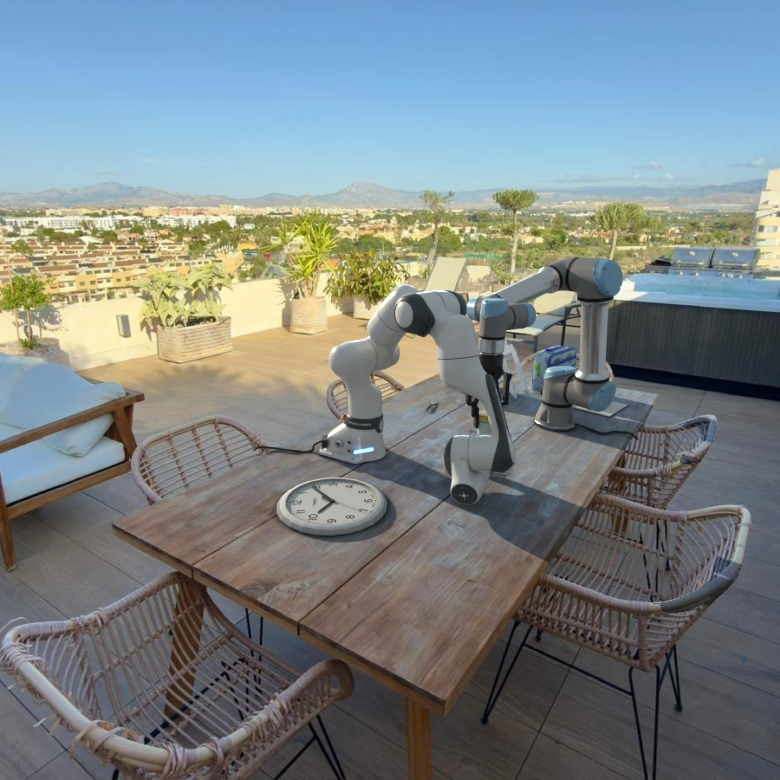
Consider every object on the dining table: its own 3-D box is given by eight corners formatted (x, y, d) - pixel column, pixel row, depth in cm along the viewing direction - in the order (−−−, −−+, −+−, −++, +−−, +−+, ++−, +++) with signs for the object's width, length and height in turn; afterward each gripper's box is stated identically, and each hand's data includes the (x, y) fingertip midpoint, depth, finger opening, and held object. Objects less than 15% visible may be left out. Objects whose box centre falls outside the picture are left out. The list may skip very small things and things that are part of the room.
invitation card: (608, 416, 214) (573, 407, 224) (608, 416, 214) (573, 408, 224) (628, 404, 229) (594, 396, 238) (628, 405, 229) (594, 397, 238)
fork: (422, 411, 216) (422, 407, 215) (433, 400, 230) (433, 396, 230) (428, 412, 215) (429, 407, 215) (438, 401, 230) (439, 396, 229)
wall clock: (392, 527, 129) (268, 531, 127) (391, 533, 130) (269, 537, 127) (383, 473, 158) (282, 475, 155) (383, 478, 158) (282, 480, 156)
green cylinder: (479, 476, 161) (483, 418, 155) (471, 470, 165) (475, 414, 159) (491, 474, 163) (496, 417, 157) (483, 468, 167) (487, 412, 161)
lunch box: (548, 398, 236) (553, 353, 229) (527, 393, 243) (531, 349, 237) (575, 387, 253) (581, 344, 247) (555, 382, 260) (560, 341, 254)
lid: (497, 419, 158) (498, 413, 158) (487, 423, 155) (488, 417, 154) (483, 414, 162) (483, 409, 161) (473, 418, 158) (473, 412, 158)
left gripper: (512, 466, 146) (518, 447, 158) (441, 454, 152) (452, 437, 165) (511, 486, 148) (516, 466, 160) (440, 474, 154) (451, 456, 167)
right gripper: (517, 349, 157) (510, 422, 163) (457, 349, 155) (453, 422, 162) (525, 355, 149) (518, 430, 156) (462, 355, 148) (458, 431, 155)
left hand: (483, 451), depth 163 cm, fingers closed on green cylinder, 4 cm apart
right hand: (485, 426), depth 159 cm, fingers closed on lid, 5 cm apart
